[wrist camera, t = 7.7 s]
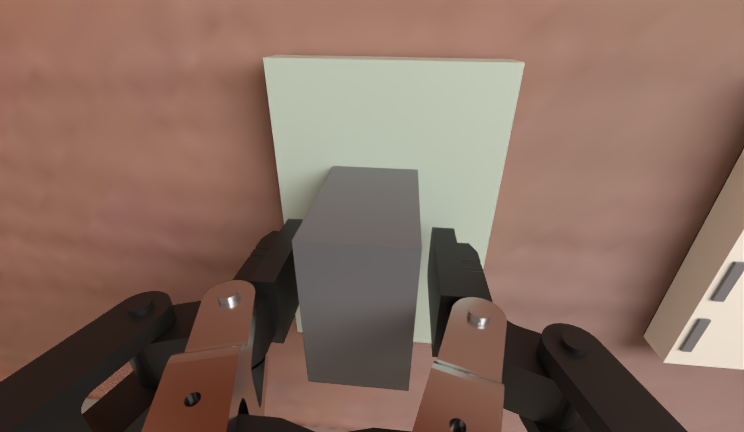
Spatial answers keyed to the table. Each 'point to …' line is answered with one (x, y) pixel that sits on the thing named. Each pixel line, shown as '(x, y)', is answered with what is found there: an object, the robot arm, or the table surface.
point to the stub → (382, 193)
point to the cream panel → (708, 290)
